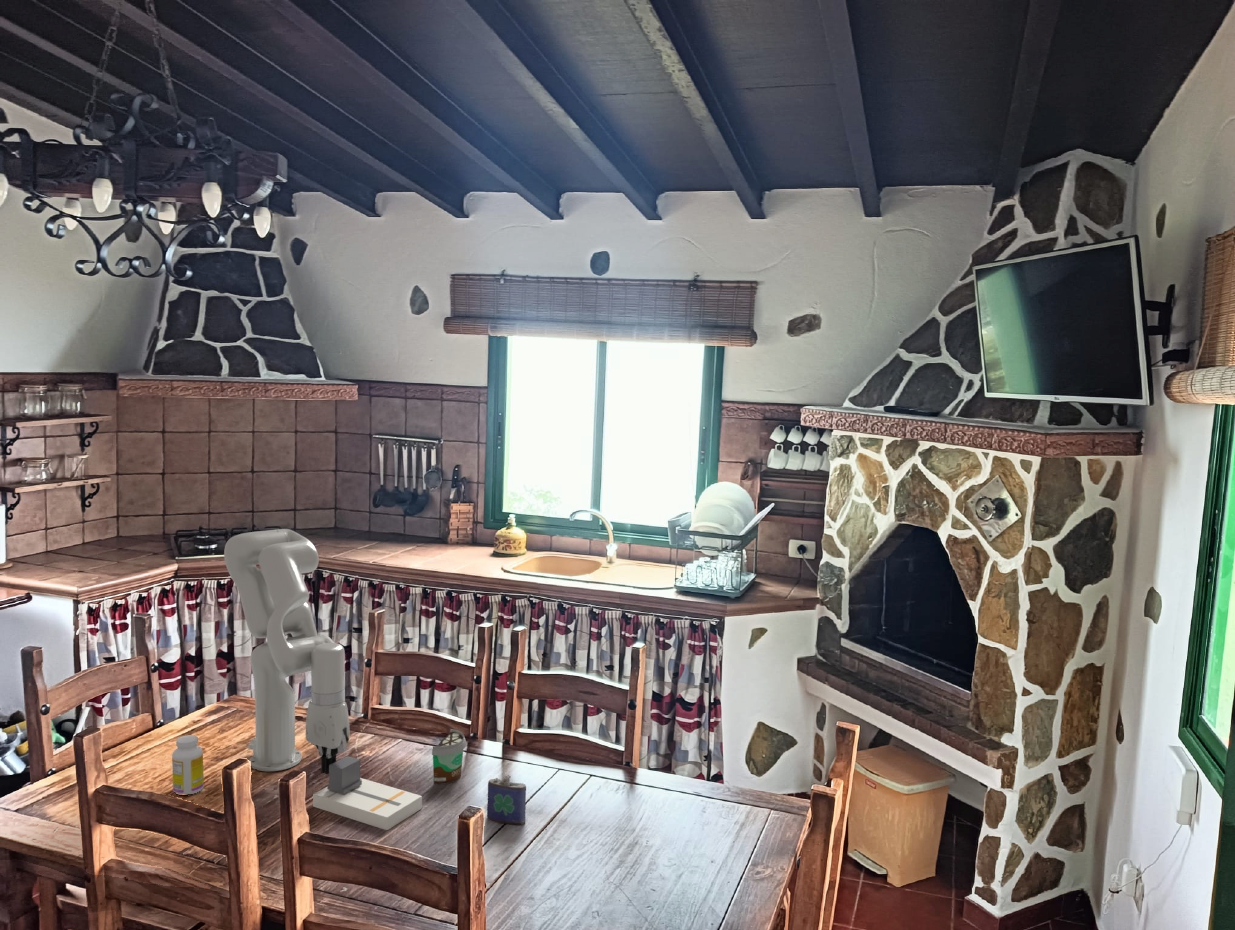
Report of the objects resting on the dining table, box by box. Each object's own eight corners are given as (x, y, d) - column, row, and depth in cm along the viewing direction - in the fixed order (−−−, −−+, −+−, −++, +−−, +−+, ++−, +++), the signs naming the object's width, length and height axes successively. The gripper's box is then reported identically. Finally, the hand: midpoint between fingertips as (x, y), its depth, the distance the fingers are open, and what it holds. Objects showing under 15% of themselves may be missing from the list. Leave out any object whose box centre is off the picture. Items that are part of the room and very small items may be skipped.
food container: (455, 789, 227) (455, 749, 226) (431, 786, 228) (431, 747, 227) (472, 768, 239) (473, 730, 238) (450, 765, 240) (450, 728, 239)
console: (313, 806, 216) (313, 793, 216) (349, 786, 227) (349, 774, 226) (387, 830, 206) (387, 817, 206) (421, 808, 217) (421, 795, 217)
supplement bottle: (205, 783, 226) (204, 732, 225) (202, 795, 220) (201, 742, 219) (175, 786, 224) (174, 734, 223) (170, 798, 218) (169, 745, 217)
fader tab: (327, 789, 218) (327, 764, 217) (345, 779, 223) (345, 755, 222) (343, 794, 216) (343, 769, 215) (361, 784, 221) (361, 760, 220)
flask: (527, 821, 212) (527, 776, 211) (522, 827, 210) (523, 781, 208) (489, 814, 215) (490, 770, 214) (484, 820, 212) (484, 775, 211)
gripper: (292, 695, 219) (293, 770, 221) (340, 707, 213) (341, 784, 215) (316, 686, 226) (317, 759, 228) (363, 697, 219) (363, 772, 221)
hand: (328, 771), depth 221 cm, fingers closed
